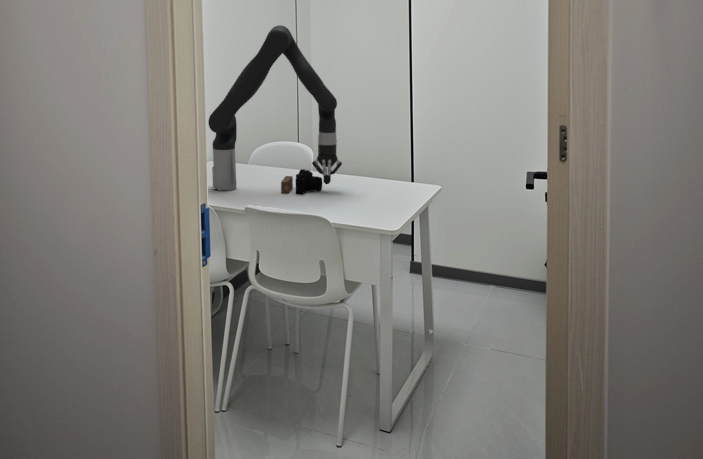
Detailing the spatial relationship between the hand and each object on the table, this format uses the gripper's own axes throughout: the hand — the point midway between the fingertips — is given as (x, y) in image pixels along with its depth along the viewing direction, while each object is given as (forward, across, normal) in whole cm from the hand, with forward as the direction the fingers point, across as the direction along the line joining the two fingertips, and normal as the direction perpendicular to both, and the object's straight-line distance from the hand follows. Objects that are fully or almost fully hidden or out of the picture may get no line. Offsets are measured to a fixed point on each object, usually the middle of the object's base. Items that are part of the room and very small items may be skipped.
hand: (327, 183), depth 308 cm
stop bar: (+3, -17, 0) cm, 17 cm away
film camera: (+4, -8, 0) cm, 8 cm away
